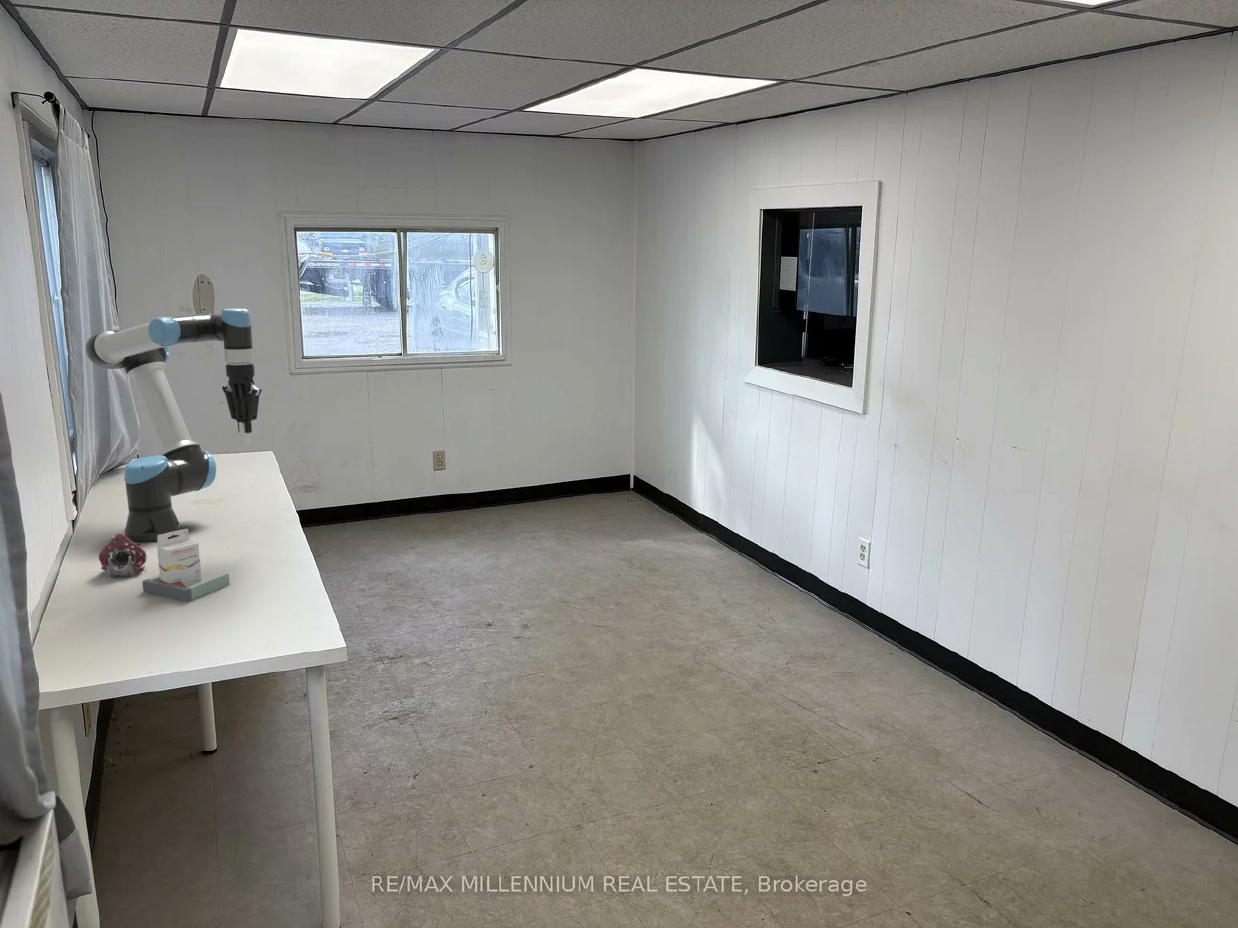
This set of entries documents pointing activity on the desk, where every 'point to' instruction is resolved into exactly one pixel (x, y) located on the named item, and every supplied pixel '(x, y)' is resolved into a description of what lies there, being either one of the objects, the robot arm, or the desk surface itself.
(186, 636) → the desk surface
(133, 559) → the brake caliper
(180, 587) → the cartridge dock
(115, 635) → the desk surface
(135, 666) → the desk surface
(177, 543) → the ink cartridge box
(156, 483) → the robot arm
